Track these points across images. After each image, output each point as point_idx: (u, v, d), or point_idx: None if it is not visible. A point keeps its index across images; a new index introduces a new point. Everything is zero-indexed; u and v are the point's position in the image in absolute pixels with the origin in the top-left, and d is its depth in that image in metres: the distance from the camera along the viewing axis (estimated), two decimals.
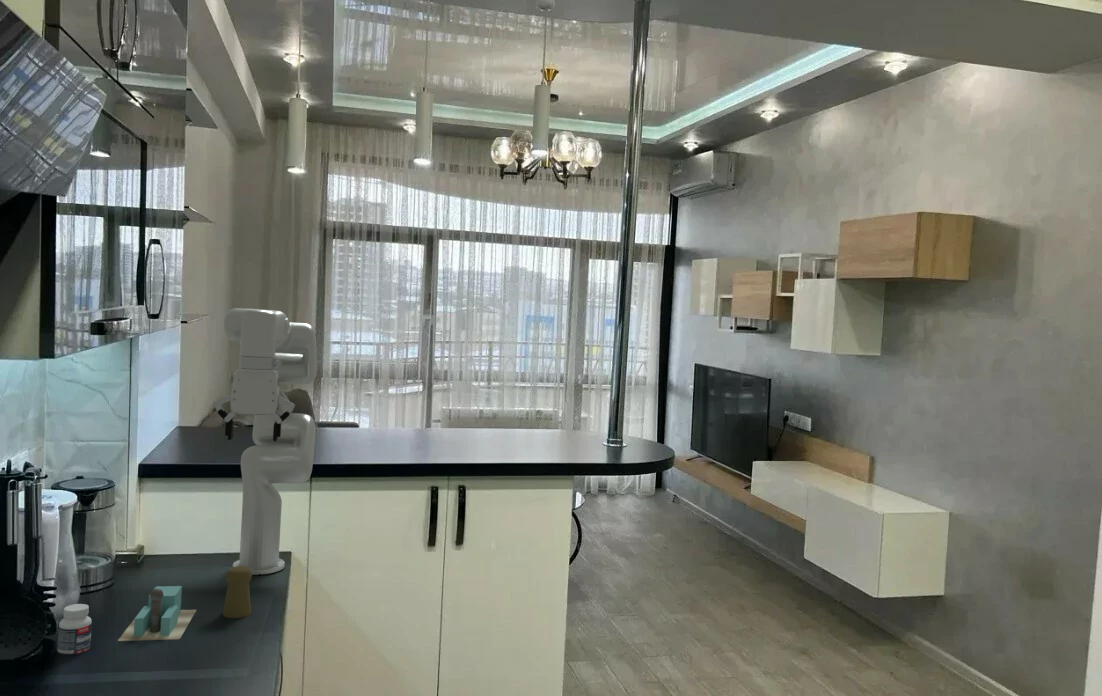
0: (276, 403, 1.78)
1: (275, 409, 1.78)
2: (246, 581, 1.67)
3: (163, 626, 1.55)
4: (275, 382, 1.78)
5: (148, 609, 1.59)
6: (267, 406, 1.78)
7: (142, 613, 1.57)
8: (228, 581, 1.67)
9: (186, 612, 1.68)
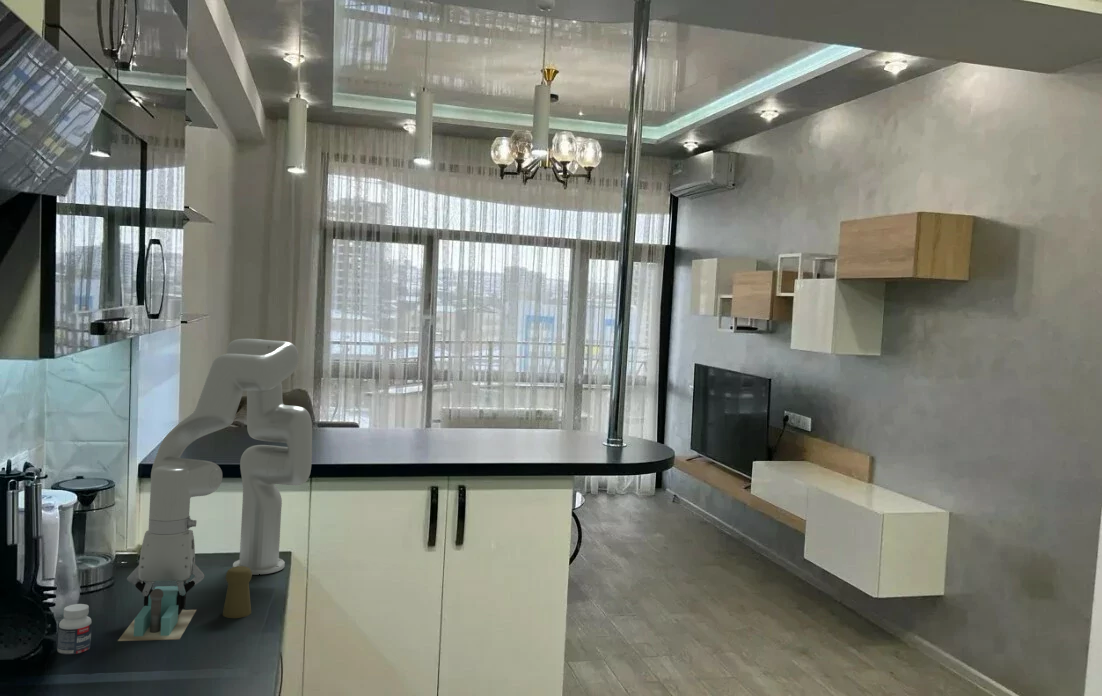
0: (190, 568, 1.63)
1: (188, 575, 1.63)
2: (246, 581, 1.67)
3: (163, 626, 1.55)
4: (188, 546, 1.63)
5: (148, 609, 1.59)
6: (179, 572, 1.62)
7: (142, 613, 1.57)
8: (228, 581, 1.67)
9: (186, 612, 1.68)
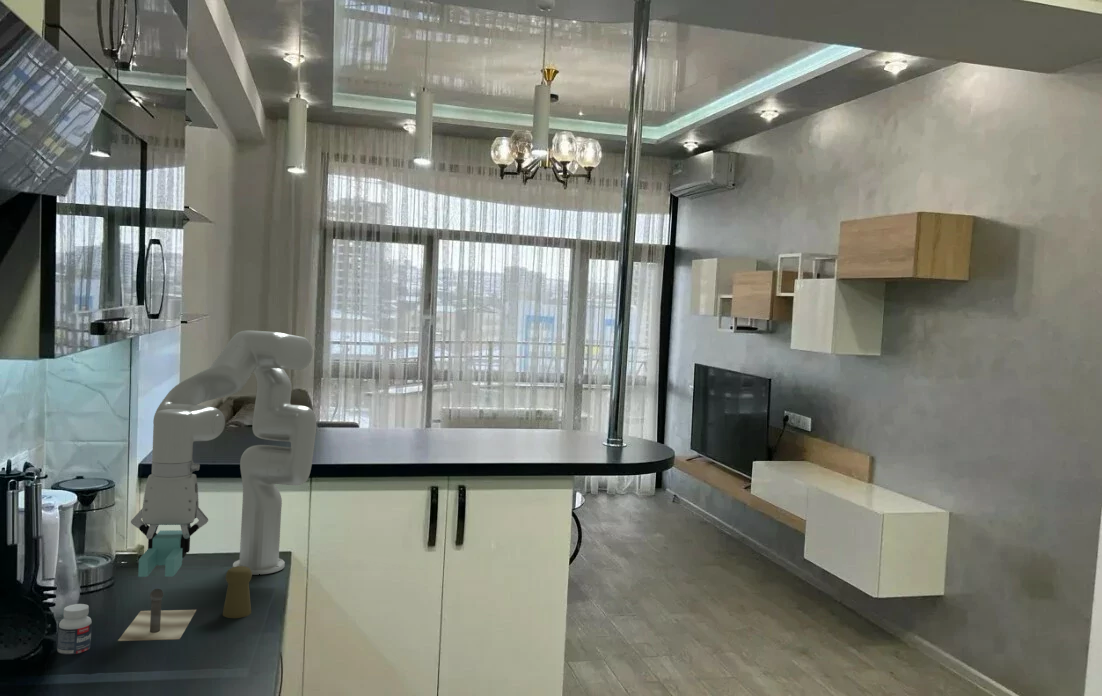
0: (193, 512, 1.63)
1: (192, 518, 1.63)
2: (246, 581, 1.67)
3: (167, 567, 1.55)
4: (192, 489, 1.63)
5: (152, 551, 1.59)
6: (183, 515, 1.62)
7: (146, 554, 1.57)
8: (228, 581, 1.67)
9: (186, 612, 1.68)
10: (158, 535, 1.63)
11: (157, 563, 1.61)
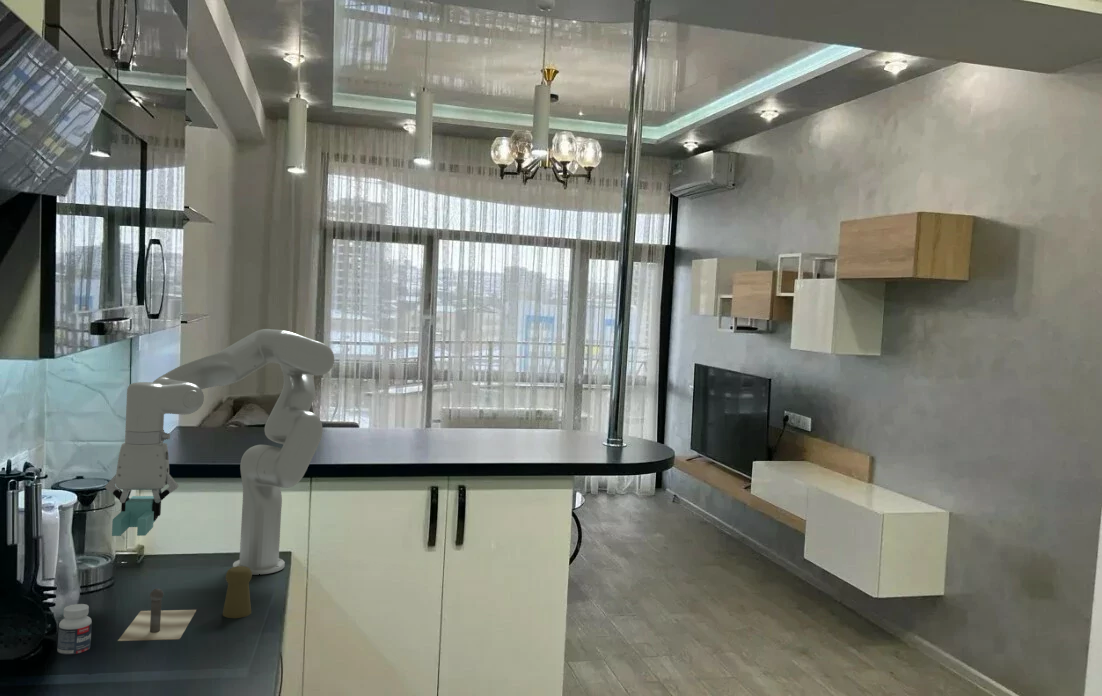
0: (164, 477, 1.75)
1: (163, 484, 1.75)
2: (246, 581, 1.67)
3: (139, 527, 1.67)
4: (163, 456, 1.75)
5: (125, 513, 1.70)
6: (154, 481, 1.74)
7: (120, 515, 1.68)
8: (228, 581, 1.67)
9: (186, 612, 1.68)
10: (131, 500, 1.74)
11: (130, 525, 1.73)
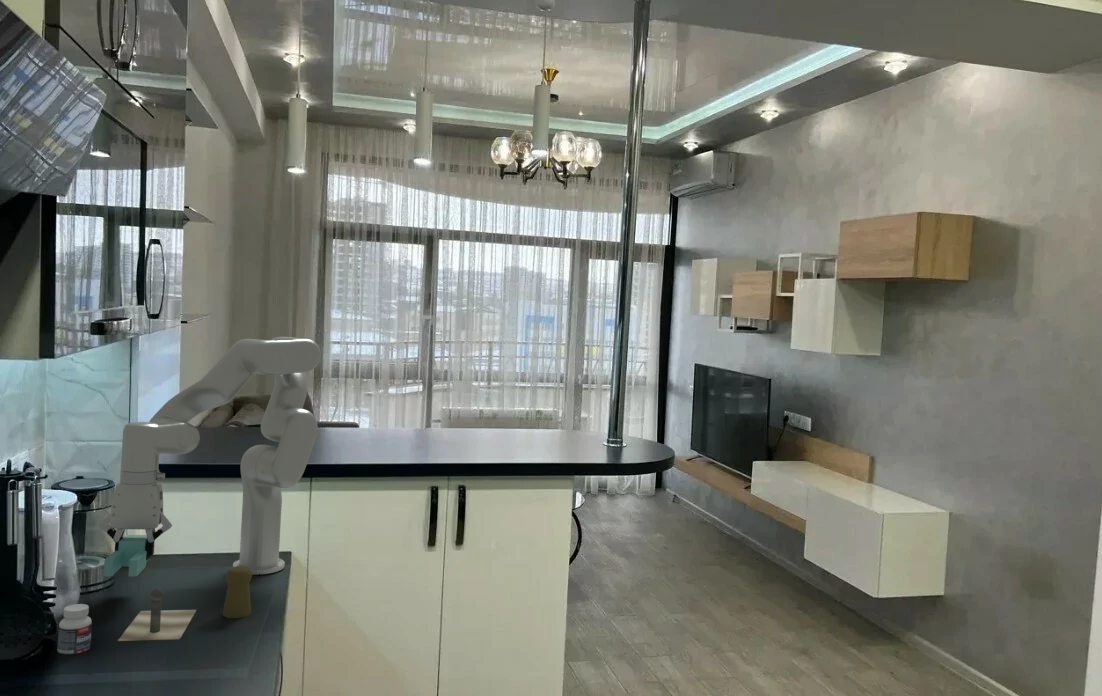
0: (158, 517, 1.76)
1: (156, 523, 1.76)
2: (246, 581, 1.67)
3: (131, 567, 1.68)
4: (157, 496, 1.76)
5: (118, 553, 1.71)
6: (148, 521, 1.75)
7: (112, 556, 1.69)
8: (228, 581, 1.67)
9: (186, 612, 1.68)
10: (124, 539, 1.76)
11: (122, 564, 1.74)
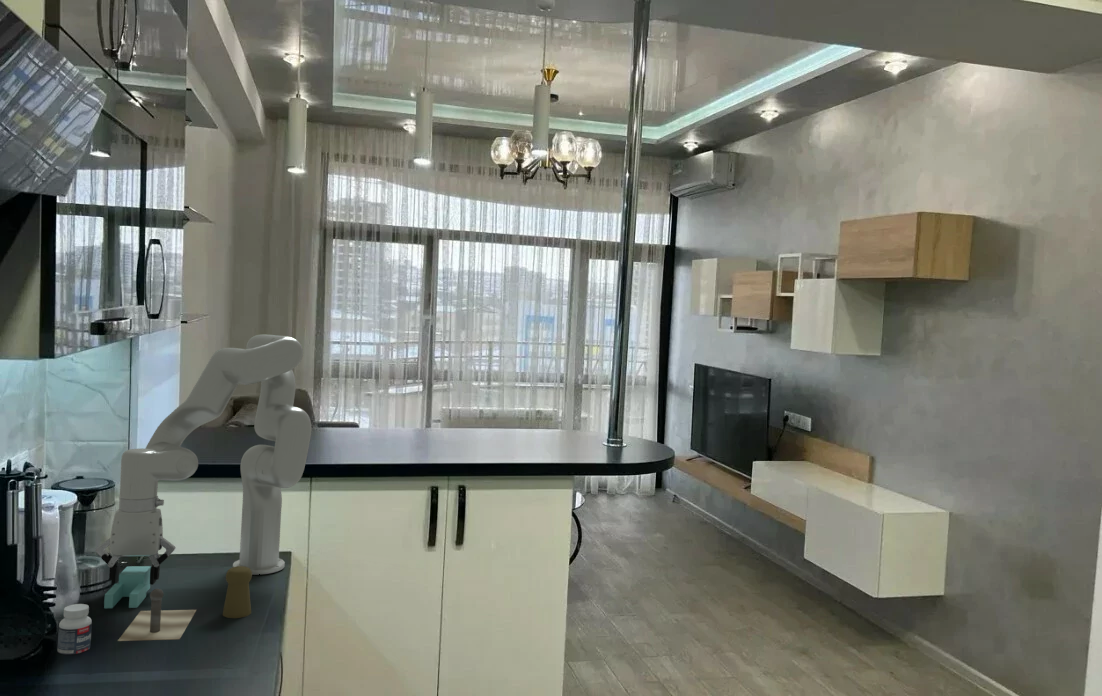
0: (157, 544, 1.77)
1: (156, 550, 1.76)
2: (246, 581, 1.67)
3: (131, 601, 1.68)
4: (156, 523, 1.76)
5: (118, 586, 1.72)
6: (147, 548, 1.76)
7: (112, 589, 1.70)
8: (228, 581, 1.67)
9: (186, 612, 1.68)
10: (125, 571, 1.76)
11: None
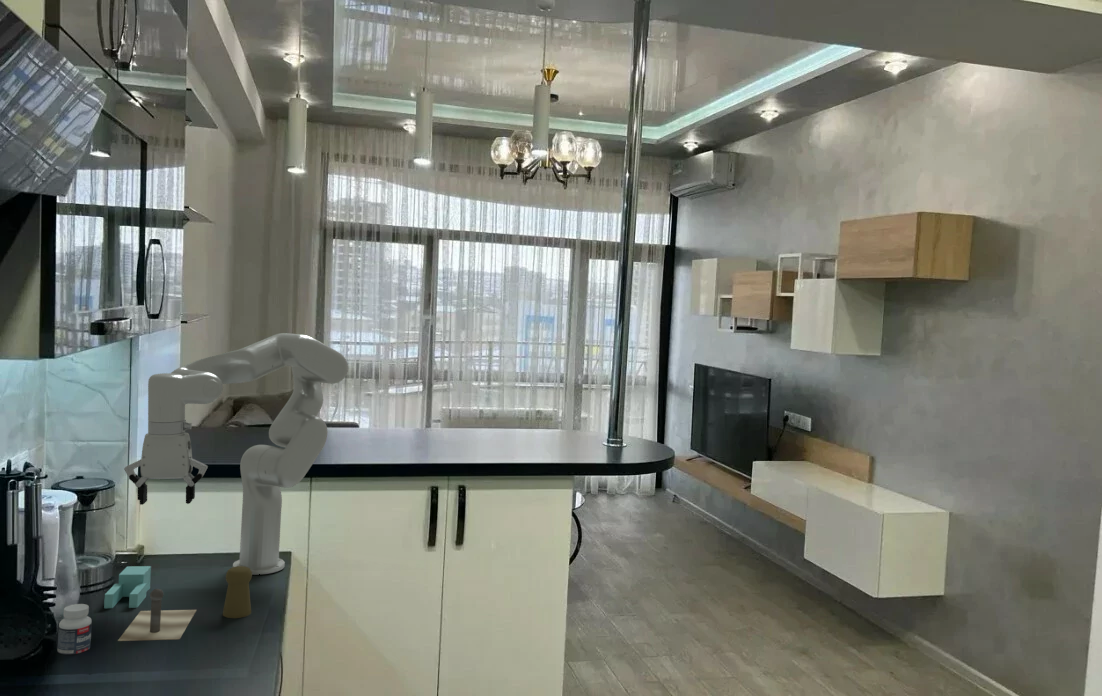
0: (187, 466, 1.79)
1: (186, 472, 1.79)
2: (246, 581, 1.67)
3: (131, 601, 1.68)
4: (185, 446, 1.78)
5: (118, 586, 1.72)
6: (178, 470, 1.78)
7: (112, 589, 1.70)
8: (228, 581, 1.67)
9: (186, 612, 1.68)
10: (125, 571, 1.76)
11: None
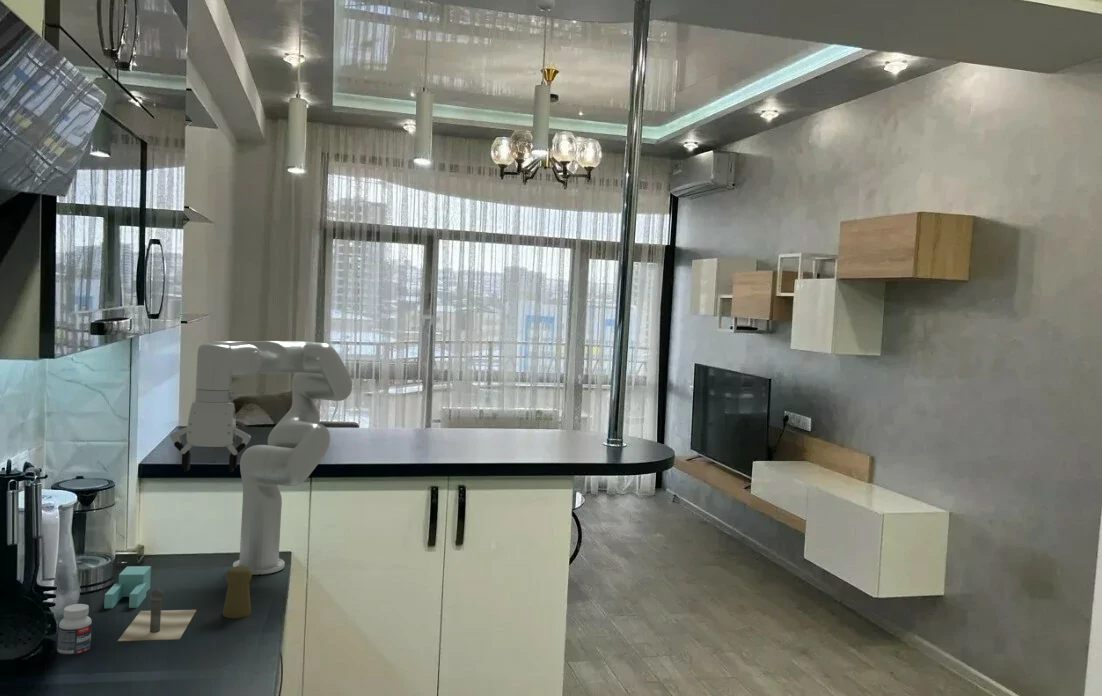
0: (232, 435, 1.82)
1: (231, 441, 1.82)
2: (246, 581, 1.67)
3: (131, 601, 1.68)
4: (231, 414, 1.82)
5: (118, 586, 1.72)
6: (223, 438, 1.81)
7: (112, 589, 1.70)
8: (228, 581, 1.67)
9: (186, 612, 1.68)
10: (125, 571, 1.76)
11: None
